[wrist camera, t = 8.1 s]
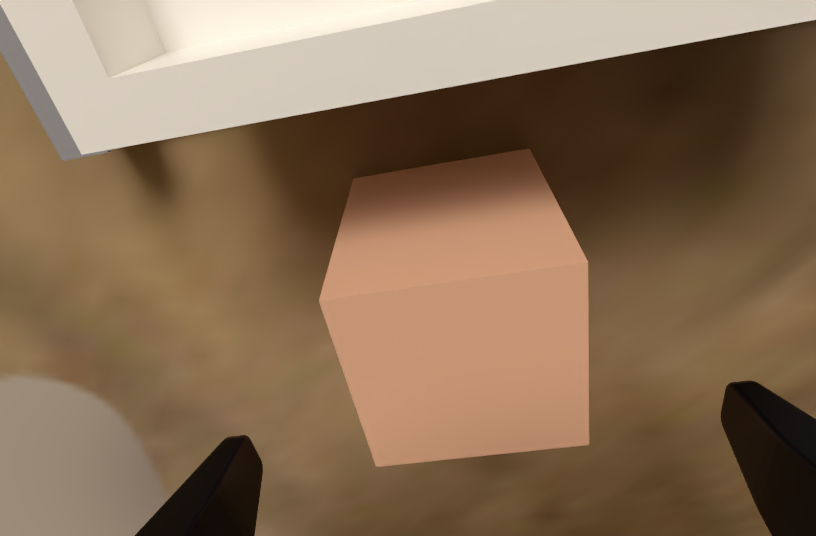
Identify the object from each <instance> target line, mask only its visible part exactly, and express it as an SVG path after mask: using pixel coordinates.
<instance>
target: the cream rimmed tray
mask: <svg viewBox="0 0 816 536" xmlns="http://www.w3.org/2000/svg"><path fill="white" fill-rule="evenodd" d="M0 5H1V7H2V8H3V10H4V12H5V14H6V16H7V18H8V20H9V21H10V23H11V25H12V27H13V29H14V31H15V32H16V34H17V36H18V38H19V40H20V42H21V44H22V45H23V47H24V49H25V51H26V53H27V55H28V56H29V58H30V60H31V62H32V64H33V66H34V68H35V69H36V71H37V73H38V75H39V77H40V79H41V81H42V82H43V84H44V86H45V88H46V90H47V92H48V93H49V95H50V97H51V99H52V101H53V103H54V105H55V106H56V108H57V110H58V112H59V114H60V116H61V117H62V119H63V121H64V123H65V125H66V127H67V129H68V130H69V132H70V134H71V136H72V138H73V140H74V141H75V143H76V145H77V147H78V149H79V151H80V153H81V154H82V155H84V154H89V153H94V152H100V151H105V150H111V149H116V148H122V147H127V146H133V145H138V144H143V143H149V142H154V141H160V140H165V139H171V138H176V137H181V136H187V135H192V134H198V133H203V132H209V131H214V130H219V129H225V128H230V127H236V126H241V125H247V124H252V123H257V122H263V121H268V120H274V119H279V118H285V117H290V116H295V115H301V114H306V113H312V112H317V111H323V110H328V109H333V108H339V107H344V106H350V105H355V104H361V103H366V102H372V101H377V100H382V99H388V98H393V97H399V96H404V95H410V94H415V93H420V92H426V91H431V90H437V89H442V88H448V87H453V86H458V85H464V84H469V83H475V82H480V81H486V80H491V79H496V78H502V77H507V76H513V75H518V74H524V73H529V72H534V71H540V70H545V69H551V68H556V67H562V66H567V65H572V64H578V63H583V62H589V61H594V60H600V59H605V58H611V57H616V56H621V55H627V54H632V53H638V52H643V51H649V50H654V49H659V48H665V47H670V46H676V45H681V44H687V43H692V42H697V41H703V40H708V39H714V38H719V37H725V36H730V35H735V34H741V33H746V32H752V31H757V30H763V29H768V28H773V27H779V26H784V25H790V24H795V23H801V22H806V21H811V20H816V0H0Z"/></svg>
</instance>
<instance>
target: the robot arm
mask: <svg viewBox="0 0 816 536" xmlns="http://www.w3.org/2000/svg"><path fill="white" fill-rule="evenodd" d="M721 422H722V426H723V428H724V431H725V433H726V435H727V438H728V440H729V443H730V445H731V447H732V450H733V452H734V454H735V457H736V459H737V462H738V464H739V466H740V469H741V471H742V473H743V476H744V478H745V481H746V483H747V485H748V488H749V490H750V492H751V495H752V497H753V499H754V502H755V504H756V506H757V508H758V510H759V512H760V514H761V516H762V518H763V520H764V522H765V524H766V525H767V527H768V529H769V531H770V533H771V534H772V536H816V419H815V418H813V417H812V416H810V415H808V414H807V413H805V412H804V411H802V410H800V409H799V408H797V407H796V406H794V405H792V404H791V403H789V402H788V401H786V400H784V399H783V398H781V397H780V396H778V395H776V394H775V393H773V392H772V391H770V390H768V389H767V388H765V387H764V386H762V385H760V384H759V383H757V382H754V381H740V382H732V383H729V384H728V385H727V386H726V389H725V394H724V400H723V405H722V410H721ZM262 473H263V466H262V461H261V459H260V457H259V455H258V453H257V451H256V449H255V447H254V445H253V443H252V442H251V440H250V438H249V437H248V436H246V435H240V436H231V437H227V438H226V439H224V440H223V441H222V442H221V443H220V444H219V445H218V447H217V448H216V449H215V450H214V451H213V452H212V453H211V454H210V455H209V456H208V457H207V458H206V459H205V461H204V462H203V463H202V464H201V465H200V466H199V467H198V468H197V469H196V470H195V471H194V472H193V473H192V475H191V476H190V477H189V478H188V479H187V480H186V481H185V482H184V483H183V484H182V485H181V486H180V487H179V489H178V490H177V491H176V492H175V493H174V494H173V495H172V496H171V497H170V498H169V499H168V500H167V501H166V503H165V504H164V505H163V506H162V507H161V508H160V509H159V510H158V511H157V512H156V513H155V515H154V516H153V517H152V518H151V519H150V520H149V521H148V522H147V523H146V524H145V525H144V526H143V527H142V528H141V529H140V531H139V532H138V533H137V534H136V535H135V536H254V535H255V527H256V520H257V512H258V504H259V497H260V489H261V481H262Z"/></svg>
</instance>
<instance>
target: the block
mask: <svg viewBox="0 0 816 536" xmlns="http://www.w3.org/2000/svg"><path fill="white" fill-rule="evenodd" d="M319 303H320V306H321V309H322V312H323V315H324V317H325V320H326V323H327V326H328V329H329V332H330V335H331V338H332V341H333V343H334V346H335V349H336V352H337V355H338V358H339V361H340V364H341V367H342V369H343V372H344V375H345V378H346V381H347V384H348V387H349V390H350V393H351V395H352V398H353V401H354V404H355V407H356V410H357V413H358V416H359V419H360V421H361V424H362V427H363V430H364V433H365V436H366V439H367V442H368V445H369V447H370V450H371V453H372V456H373V459H374V462H375V465H376V467H381V466H390V465H400V464H410V463H419V462H429V461H438V460H448V459H458V458H467V457H477V456H487V455H496V454H506V453H515V452H525V451H535V450H544V449H554V448H564V447H573V446H583V445H589V333H588V261H587V259H586V257H585V255H584V253H583V251H582V249H581V247H580V245H579V243H578V241H577V240H576V238H575V236H574V234H573V232H572V230H571V228H570V226H569V224H568V222H567V220H566V218H565V216H564V214H563V212H562V210H561V209H560V207H559V205H558V203H557V201H556V199H555V197H554V195H553V193H552V191H551V189H550V187H549V185H548V183H547V181H546V180H545V178H544V176H543V174H542V172H541V170H540V168H539V166H538V164H537V162H536V160H535V158H534V156H533V154H532V152H531V150H530V149H529V148H528V149H522V150H517V151H511V152H505V153H499V154H493V155H487V156H481V157H476V158H470V159H464V160H458V161H452V162H446V163H440V164H435V165H429V166H423V167H417V168H411V169H405V170H399V171H394V172H388V173H382V174H376V175H370V176H364V177H358V178H353V181H352V185H351V188H350V192H349V195H348V199H347V202H346V206H345V210H344V213H343V217H342V220H341V224H340V227H339V231H338V234H337V238H336V241H335V245H334V249H333V252H332V256H331V259H330V263H329V266H328V270H327V273H326V277H325V280H324V284H323V287H322V291H321V295H320V298H319Z"/></svg>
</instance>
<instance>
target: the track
mask: <svg viewBox="0 0 816 536" xmlns="http://www.w3.org/2000/svg"><path fill="white" fill-rule="evenodd" d="M0 51H1V53H2V55H3V57H4V58H5V60H6V62H7V64H8V66H9V67H10V69H11V71H12V73H13V74H14V76H15V78H16V80H17V81H18V83H19V85H20V87H21V89H22V90H23V92H24V94H25V96H26V97H27V99H28V101H29V103H30V104H31V106H32V108H33V110H34V112H35V113H36V115H37V117H38V119H39V120H40V122H41V124H42V126H43V127H44V129H45V131H46V133H47V135H48V136H49V138H50V140H51V142H52V143H53V145H54V147H55V149H56V150H57V152H58V154H59V156H60V158H61V159H62V161H65V160H71V159H76V158H82V157H87V156H92V155H98V154H103V153H109V152H110V151H111V150H113V149H111V150H105V151H100V152H94V153H89V154H84V155H82V154H81V153H80V151H79V149H78V147H77V145H76V143H75V141H74V140H73V138H72V136H71V134H70V132H69V130H68V129H67V127H66V125H65V123H64V121H63V119H62V117H61V116H60V114H59V112H58V110H57V108H56V106H55V105H54V103H53V101H52V99H51V97H50V95H49V93H48V92H47V90H46V88H45V86H44V84H43V82H42V81H41V79H40V77H39V75H38V73H37V71H36V69H35V68H34V66H33V64H32V62H31V60H30V58H29V56H28V55H27V53H26V51H25V49H24V47H23V45H22V44H21V42H20V40H19V38H18V36H17V34H16V32H15V31H14V29H13V27H12V25H11V23H10V21H9V20H8V18H7V16H6V14H5V12H4V10H3V8H2V7H1V5H0Z"/></svg>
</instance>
